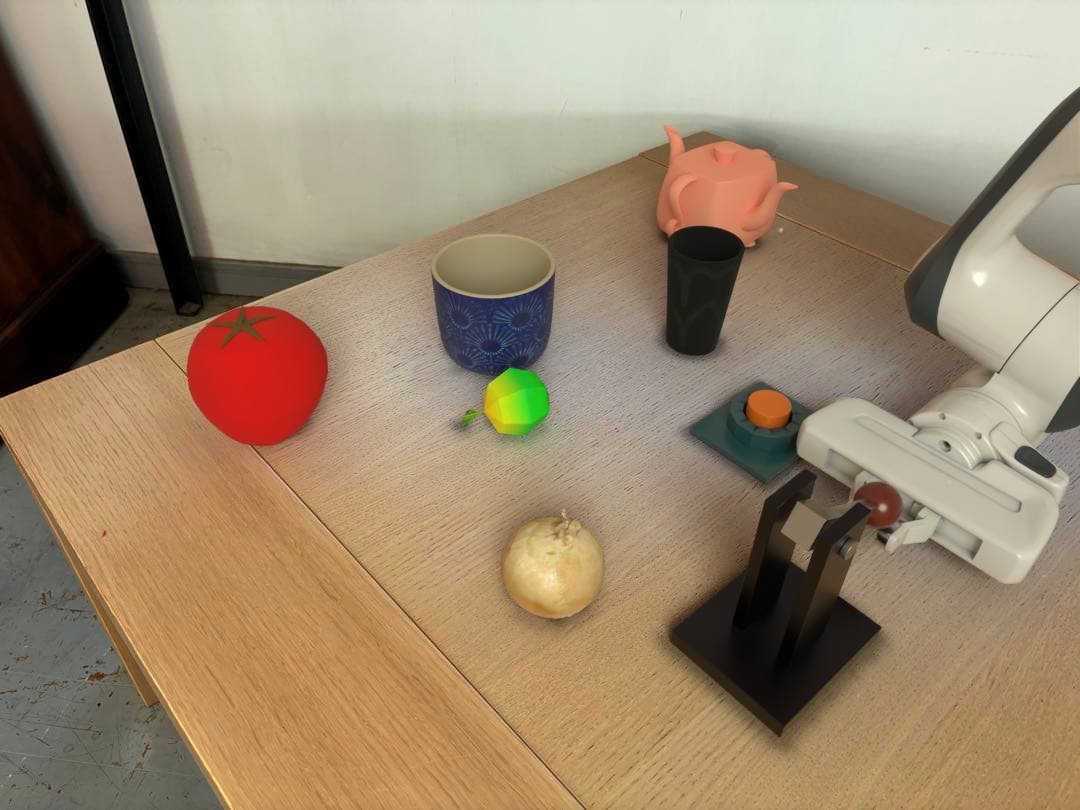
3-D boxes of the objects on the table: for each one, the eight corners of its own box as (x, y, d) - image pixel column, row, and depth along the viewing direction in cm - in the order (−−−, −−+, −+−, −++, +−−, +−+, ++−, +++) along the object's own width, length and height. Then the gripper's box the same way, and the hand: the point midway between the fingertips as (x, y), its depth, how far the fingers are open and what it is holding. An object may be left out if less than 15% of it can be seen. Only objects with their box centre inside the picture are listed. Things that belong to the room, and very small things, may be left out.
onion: (595, 640, 62) (601, 581, 57) (491, 624, 63) (488, 565, 58) (607, 557, 68) (613, 498, 63) (512, 544, 69) (511, 484, 64)
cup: (736, 358, 88) (756, 259, 81) (667, 365, 87) (681, 266, 80) (713, 318, 94) (729, 222, 86) (648, 323, 93) (659, 227, 86)
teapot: (654, 207, 115) (664, 117, 107) (776, 219, 112) (796, 128, 104) (643, 261, 104) (653, 165, 96) (778, 276, 101) (800, 179, 93)
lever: (854, 509, 65) (876, 470, 64) (895, 535, 63) (919, 496, 62) (766, 533, 54) (792, 487, 53) (813, 566, 52) (840, 519, 51)
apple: (548, 352, 77) (458, 379, 73) (571, 417, 76) (481, 446, 73) (525, 371, 83) (441, 395, 80) (546, 430, 83) (463, 457, 79)
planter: (461, 400, 83) (455, 308, 76) (423, 333, 91) (414, 246, 84) (573, 369, 87) (576, 280, 80) (526, 308, 95) (525, 223, 88)
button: (762, 396, 80) (765, 384, 79) (797, 417, 78) (800, 404, 77) (736, 414, 78) (739, 401, 77) (771, 435, 76) (774, 423, 75)
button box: (760, 386, 85) (764, 366, 83) (835, 430, 80) (842, 411, 78) (689, 433, 79) (692, 413, 78) (765, 484, 74) (770, 464, 73)
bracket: (768, 558, 68) (807, 423, 58) (877, 638, 62) (940, 503, 52) (669, 641, 62) (694, 506, 52) (779, 738, 56) (831, 606, 46)
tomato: (204, 478, 74) (164, 366, 66) (208, 397, 83) (173, 290, 75) (343, 453, 77) (321, 343, 69) (333, 377, 85) (312, 272, 77)
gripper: (857, 364, 75) (763, 431, 68) (1092, 489, 63) (1008, 585, 56) (840, 417, 79) (750, 485, 72) (1058, 543, 67) (976, 639, 60)
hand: (865, 530), depth 64 cm, fingers closed
